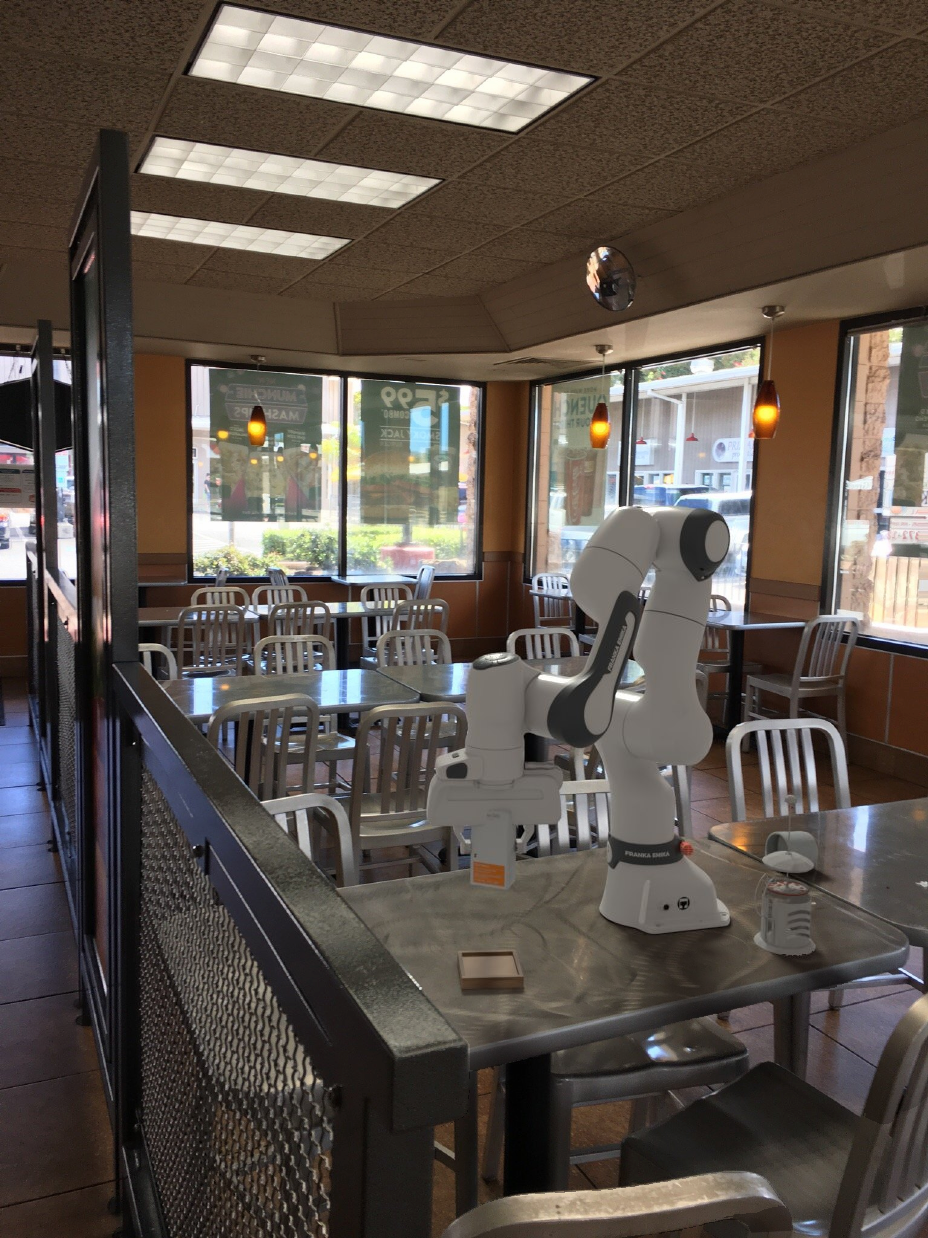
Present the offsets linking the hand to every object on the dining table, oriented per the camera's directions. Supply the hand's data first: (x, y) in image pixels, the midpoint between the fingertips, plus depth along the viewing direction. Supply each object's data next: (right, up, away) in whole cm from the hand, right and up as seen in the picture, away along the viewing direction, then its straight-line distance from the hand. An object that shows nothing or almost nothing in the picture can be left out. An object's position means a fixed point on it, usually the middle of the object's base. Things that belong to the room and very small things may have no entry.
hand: (493, 852), depth 150 cm
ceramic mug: (+61, -15, +51) cm, 80 cm away
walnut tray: (0, -19, +2) cm, 19 cm away
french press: (+48, -19, +14) cm, 53 cm away
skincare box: (0, -5, +1) cm, 5 cm away
